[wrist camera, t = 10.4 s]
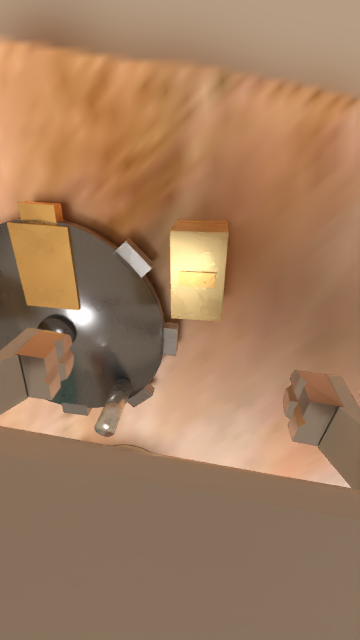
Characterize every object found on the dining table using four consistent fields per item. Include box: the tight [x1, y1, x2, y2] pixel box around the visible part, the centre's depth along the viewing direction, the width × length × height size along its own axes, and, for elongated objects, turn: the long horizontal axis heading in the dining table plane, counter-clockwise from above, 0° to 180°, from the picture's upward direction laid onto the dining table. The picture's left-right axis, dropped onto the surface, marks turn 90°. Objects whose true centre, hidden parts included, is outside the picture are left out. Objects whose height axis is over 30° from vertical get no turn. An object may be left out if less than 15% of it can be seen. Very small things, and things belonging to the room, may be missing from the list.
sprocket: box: [0, 201, 179, 437], centre depth 22 cm, size 20×20×6 cm
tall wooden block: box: [170, 220, 229, 321], centre depth 20 cm, size 4×6×4 cm, turn 0°
